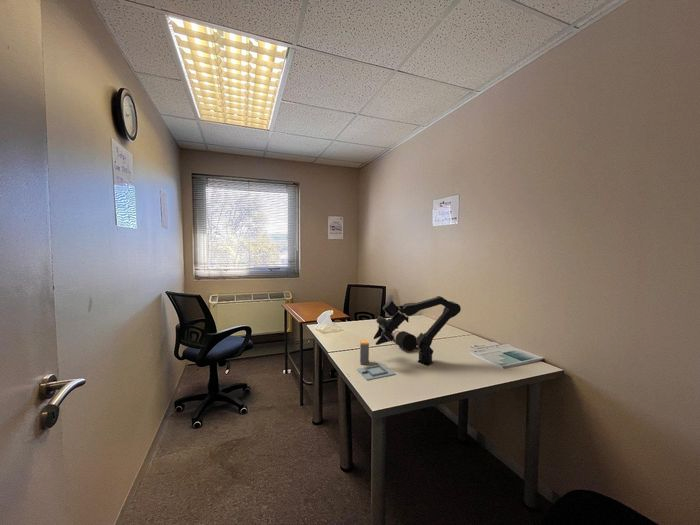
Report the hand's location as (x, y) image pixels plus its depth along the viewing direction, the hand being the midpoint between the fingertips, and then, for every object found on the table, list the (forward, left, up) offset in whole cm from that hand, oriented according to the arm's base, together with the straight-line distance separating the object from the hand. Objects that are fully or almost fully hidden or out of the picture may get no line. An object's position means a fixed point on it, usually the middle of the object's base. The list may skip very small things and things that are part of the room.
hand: (374, 341), depth 151 cm
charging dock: (-8, +8, -12) cm, 17 cm away
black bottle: (+12, -35, -12) cm, 39 cm away
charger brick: (+4, +5, -12) cm, 13 cm away
